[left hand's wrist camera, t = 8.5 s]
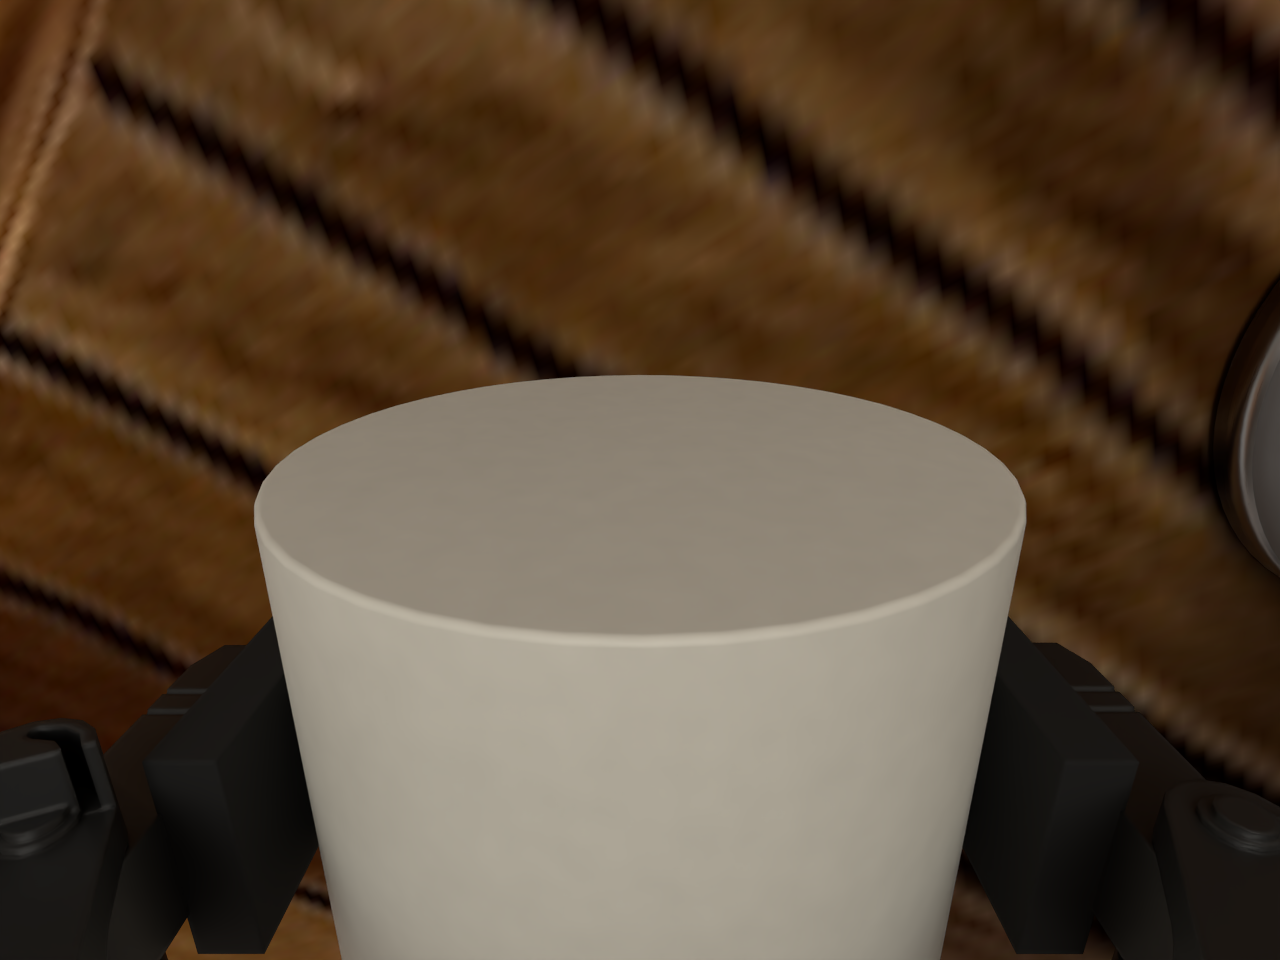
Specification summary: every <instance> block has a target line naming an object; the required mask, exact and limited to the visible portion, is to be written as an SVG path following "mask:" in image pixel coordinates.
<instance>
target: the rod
mask: <svg viewBox="0 0 1280 960" xmlns="http://www.w3.org/2000/svg"><path fill="white" fill-rule="evenodd" d="M254 523H255V530H256V535H257V540H258V545H259V550H260V555H261V560H262V565H263V570H264V575H265V580H266V585H267V590H268V595H269V600H270V605H271V610H272V615H273V620H274V625H275V630H276V635H277V640H278V645H279V649H280V654H281V659H282V664H283V669H284V674H285V679H286V684H287V689H288V694H289V699H290V704H291V709H292V714H293V719H294V724H295V729H296V734H297V739H298V744H299V749H300V754H301V759H302V764H303V769H304V774H305V779H306V784H307V788H308V793H309V798H310V803H311V808H312V813H313V818H314V823H315V828H316V833H317V838H318V843H319V848H320V853H321V858H322V863H323V868H324V873H325V878H326V883H327V888H328V893H329V898H330V903H331V908H332V913H333V918H334V922H335V927H336V932H337V937H338V942H339V947H340V952H341V957H342V960H940V957H941V952H942V947H943V942H944V937H945V932H946V927H947V922H948V917H949V912H950V907H951V902H952V896H953V891H954V886H955V881H956V876H957V871H958V866H959V861H960V856H961V851H962V846H963V841H964V836H965V831H966V825H967V820H968V815H969V810H970V805H971V800H972V795H973V790H974V785H975V780H976V775H977V770H978V765H979V760H980V754H981V749H982V744H983V739H984V734H985V729H986V724H987V719H988V714H989V709H990V704H991V699H992V694H993V689H994V683H995V678H996V673H997V668H998V663H999V658H1000V653H1001V648H1002V643H1003V638H1004V633H1005V628H1006V623H1007V618H1008V612H1009V607H1010V602H1011V597H1012V592H1013V587H1014V582H1015V577H1016V572H1017V567H1018V562H1019V557H1020V552H1021V547H1022V541H1023V536H1024V531H1025V526H1026V502H1025V498H1024V496H1023V493H1022V491H1021V488H1020V486H1019V484H1018V481H1017V479H1016V478H1015V477H1014V476H1013V474H1012V473H1011V472H1010V471H1009V470H1008V468H1007V467H1006V466H1005V465H1004V464H1003V463H1002V462H1001V461H1000V460H999V459H997V458H996V457H995V456H994V455H992V454H991V453H990V452H989V451H987V450H986V449H985V448H983V447H982V446H980V445H978V444H976V443H975V442H973V441H971V440H970V439H968V438H966V437H965V436H963V435H961V434H959V433H957V432H955V431H952V430H950V429H948V428H946V427H944V426H942V425H940V424H937V423H935V422H932V421H930V420H927V419H924V418H922V417H919V416H916V415H914V414H911V413H908V412H905V411H902V410H898V409H895V408H892V407H889V406H886V405H882V404H878V403H875V402H871V401H867V400H863V399H859V398H855V397H850V396H845V395H841V394H836V393H831V392H826V391H821V390H815V389H809V388H803V387H797V386H790V385H782V384H775V383H767V382H759V381H748V380H738V379H726V378H712V377H694V376H664V375H623V376H591V377H572V378H559V379H545V380H536V381H526V382H517V383H509V384H502V385H495V386H487V387H481V388H475V389H469V390H464V391H458V392H453V393H448V394H443V395H439V396H434V397H429V398H425V399H421V400H417V401H413V402H409V403H405V404H402V405H398V406H394V407H391V408H388V409H385V410H382V411H379V412H375V413H372V414H369V415H367V416H364V417H361V418H359V419H356V420H354V421H351V422H348V423H346V424H343V425H341V426H339V427H337V428H334V429H332V430H330V431H328V432H326V433H324V434H322V435H320V436H318V437H316V438H314V439H312V440H311V441H309V442H308V443H306V444H304V445H303V446H301V447H299V448H298V449H296V450H295V451H293V452H292V453H291V454H290V455H288V456H287V457H286V458H285V459H284V460H282V461H281V462H280V463H279V464H278V465H276V466H275V468H274V469H273V470H272V471H271V473H270V474H269V475H268V476H267V478H266V479H265V480H264V481H263V483H262V486H261V488H260V491H259V493H258V496H257V498H256V501H255V505H254Z"/></svg>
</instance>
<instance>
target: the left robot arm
mask: <svg viewBox="0 0 1280 960" xmlns="http://www.w3.org/2000/svg"><path fill="white" fill-rule="evenodd" d="M1213 459H1214V473H1215V479H1216V485H1217V490H1218V494H1219V497H1220V500H1221V504H1222V507H1223V510H1224V512H1225V514H1226V516H1227V519H1228V521H1229V523H1230V525H1231V527H1232V529H1233V530H1234V532H1235V533H1236V535H1237V537H1238V538H1239V540H1240V541H1241V543H1242V544H1243V545H1244V546H1245V547H1246V549H1247V550H1248V551H1249V552H1250V554H1251V555H1252V556H1253V557H1255V558H1256V559H1257V560H1258V561H1259V562H1260V563H1261V564H1262V565H1263V566H1264V567H1265V568H1267V569H1268V570H1270V571H1271V572H1272V573H1274V574H1275V575H1277V576H1278V577H1280V280H1279V281H1278V283H1277V284H1276V285H1275V286H1274V288H1273V289H1272V291H1271V292H1270V294H1269V295H1268V296H1267V298H1266V299H1265V301H1264V302H1263V304H1262V305H1261V307H1260V308H1259V310H1258V311H1257V313H1256V315H1255V317H1254V318H1253V320H1252V322H1251V324H1250V325H1249V327H1248V329H1247V331H1246V332H1245V334H1244V336H1243V338H1242V340H1241V343H1240V345H1239V347H1238V349H1237V351H1236V353H1235V355H1234V358H1233V360H1232V363H1231V365H1230V368H1229V371H1228V374H1227V376H1226V379H1225V382H1224V385H1223V389H1222V393H1221V397H1220V400H1219V404H1218V409H1217V415H1216V421H1215V427H1214V443H1213ZM318 846H319V843H318V838H317V833H316V828H315V823H314V818H313V813H312V808H311V803H310V798H309V793H308V788H307V784H306V779H305V774H304V769H303V764H302V759H301V754H300V749H299V744H298V739H297V734H296V729H295V724H294V719H293V714H292V709H291V704H290V699H289V694H288V689H287V684H286V679H285V674H284V669H283V664H282V659H281V654H280V649H279V645H278V640H277V635H276V630H275V625H274V620H273V616H272V618H271V619H270V620H269V621H268V622H267V623H266V624H265V625H264V626H263V628H262V629H261V630H260V631H259V632H258V633H257V634H256V635H255V636H254V638H253V639H252V640H251V641H250V642H249V643H248V644H247V645H224V646H223V647H221V648H219V649H218V650H216V651H214V652H213V653H211V654H209V655H208V656H206V657H204V658H203V659H201V660H199V661H198V662H196V663H194V664H193V665H191V666H190V667H189V668H188V669H187V670H186V671H185V672H184V673H183V674H182V675H181V676H180V677H179V678H178V679H177V680H176V681H175V682H174V683H173V684H172V685H171V686H170V687H169V688H168V689H167V694H162V695H161V697H160V698H159V699H158V700H157V701H156V702H155V703H154V704H153V705H152V706H151V707H150V708H149V709H148V713H147V715H142V716H141V717H140V718H139V719H138V720H137V721H136V722H135V723H134V724H133V725H132V726H131V727H130V728H129V729H128V730H127V731H126V732H125V733H124V734H123V735H122V736H121V737H120V738H119V739H118V740H117V741H116V742H115V743H114V744H113V745H112V746H111V747H110V748H109V749H108V751H107V752H106V753H105V754H104V755H103V752H102V749H101V746H100V743H99V740H98V737H97V733H96V730H95V728H93V727H92V726H90V725H89V724H87V723H86V722H85V721H83V720H75V719H66V718H58V719H51V720H43V721H36V722H31V723H28V724H25V725H22V726H18V727H15V728H12V729H9V730H5V731H2V732H0V960H168V958H167V955H166V952H165V951H166V950H167V948H168V947H169V945H170V944H171V942H172V940H173V939H174V937H175V936H176V934H177V933H178V931H179V929H180V928H181V926H182V925H183V923H184V922H185V920H186V918H188V921H189V925H190V928H191V931H192V935H193V938H194V942H195V945H196V948H197V952H198V954H264V953H265V951H266V950H267V948H268V946H269V944H270V942H271V940H272V938H273V936H274V934H275V932H276V930H277V928H278V926H279V924H280V922H281V920H282V918H283V916H284V914H285V912H286V910H287V908H288V906H289V904H290V902H291V900H292V898H293V896H294V894H295V892H296V890H297V888H298V886H299V884H300V882H301V880H302V878H303V876H304V874H305V872H306V870H307V868H308V866H309V864H310V862H311V860H312V858H313V856H314V854H315V852H316V850H317V848H318ZM962 847H963V849H964V851H965V853H966V855H967V857H968V859H969V861H970V862H971V864H972V866H973V868H974V870H975V872H976V874H977V876H978V878H979V880H980V882H981V884H982V886H983V888H984V890H985V892H986V894H987V896H988V898H989V900H990V902H991V904H992V906H993V908H994V910H995V912H996V914H997V916H998V918H999V920H1000V922H1001V924H1002V926H1003V928H1004V930H1005V932H1006V934H1007V936H1008V938H1009V940H1010V942H1011V944H1012V946H1013V948H1014V950H1015V952H1016V954H1083V952H1084V948H1085V945H1086V941H1087V938H1088V935H1089V931H1090V928H1091V924H1092V921H1093V918H1094V915H1095V916H1096V918H1097V920H1098V921H1099V923H1100V924H1101V926H1102V927H1103V929H1104V930H1105V932H1106V934H1107V935H1108V937H1109V938H1110V940H1111V941H1112V943H1113V944H1114V946H1115V948H1116V949H1115V952H1114V955H1113V958H1112V960H1280V807H1279V806H1277V805H1275V804H1273V803H1272V802H1270V801H1268V800H1266V799H1264V798H1262V797H1260V796H1259V795H1257V794H1255V793H1252V792H1249V791H1246V790H1243V789H1240V788H1238V787H1235V786H1232V785H1229V784H1226V783H1221V782H1214V781H1208V780H1206V779H1205V778H1204V777H1203V776H1202V775H1201V774H1200V773H1199V772H1198V771H1197V770H1196V769H1195V768H1194V767H1193V766H1192V765H1191V764H1190V763H1189V762H1188V761H1187V760H1186V759H1185V758H1184V757H1183V756H1182V755H1181V754H1180V753H1179V752H1178V751H1177V750H1176V749H1175V748H1174V747H1173V746H1172V745H1171V744H1170V743H1169V742H1168V741H1167V740H1166V739H1165V738H1164V737H1163V736H1162V735H1161V734H1160V733H1159V732H1158V731H1157V730H1156V729H1155V728H1154V727H1153V726H1152V725H1151V724H1150V723H1149V722H1148V721H1147V720H1146V719H1145V718H1144V717H1143V716H1142V715H1141V714H1140V713H1139V712H1135V711H1134V706H1133V705H1132V704H1131V703H1130V702H1129V701H1128V700H1127V699H1126V698H1125V697H1124V696H1123V695H1122V694H1121V693H1120V692H1115V690H1114V686H1113V685H1112V684H1111V683H1110V682H1109V681H1108V680H1107V679H1106V678H1105V677H1104V676H1103V675H1102V674H1101V673H1100V672H1099V671H1098V670H1097V669H1096V668H1095V667H1094V666H1093V665H1092V664H1091V663H1090V662H1088V661H1086V660H1085V659H1083V658H1081V657H1079V656H1078V655H1076V654H1074V653H1073V652H1071V651H1069V650H1068V649H1066V648H1064V647H1063V646H1061V645H1059V644H1058V643H1032V642H1031V641H1030V640H1029V639H1028V638H1027V637H1026V636H1025V634H1024V633H1023V632H1022V631H1021V630H1020V629H1019V628H1018V627H1017V626H1016V624H1015V623H1014V622H1013V621H1012V620H1011V619H1010V618H1009V617H1008V618H1007V623H1006V628H1005V633H1004V638H1003V643H1002V648H1001V653H1000V658H999V663H998V668H997V673H996V678H995V683H994V689H993V694H992V699H991V704H990V709H989V714H988V719H987V724H986V729H985V734H984V739H983V744H982V749H981V754H980V760H979V765H978V770H977V775H976V780H975V785H974V790H973V795H972V800H971V805H970V810H969V815H968V820H967V825H966V831H965V836H964V841H963V846H962Z"/></svg>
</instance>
